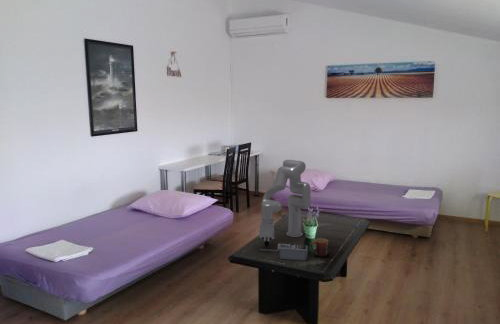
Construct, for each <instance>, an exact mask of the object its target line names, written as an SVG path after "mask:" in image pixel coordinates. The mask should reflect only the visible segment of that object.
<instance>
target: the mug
mask: <svg viewBox="0 0 500 324" xmlns="http://www.w3.org/2000/svg"><path fill="white" fill-rule="evenodd" d="M314 244H315V248H313V245H314ZM328 245H329V240H328V239H327V238H322V237H320V238H316V239H315V240H314V241H312V242H311V243H310V248H311V250H312V251H313V252H315V255H316V256H317V257H319V258H325V257H326V256H327V255H328Z"/></svg>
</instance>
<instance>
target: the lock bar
mask: <svg viewBox="0 0 500 324" xmlns="http://www.w3.org/2000/svg"><path fill="white" fill-rule="evenodd" d="M280 244H282V248H289V245H295V244H294V242H291V243H290V244H289V243H288V244H286V243H277V250H278V251H279V247H280Z"/></svg>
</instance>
